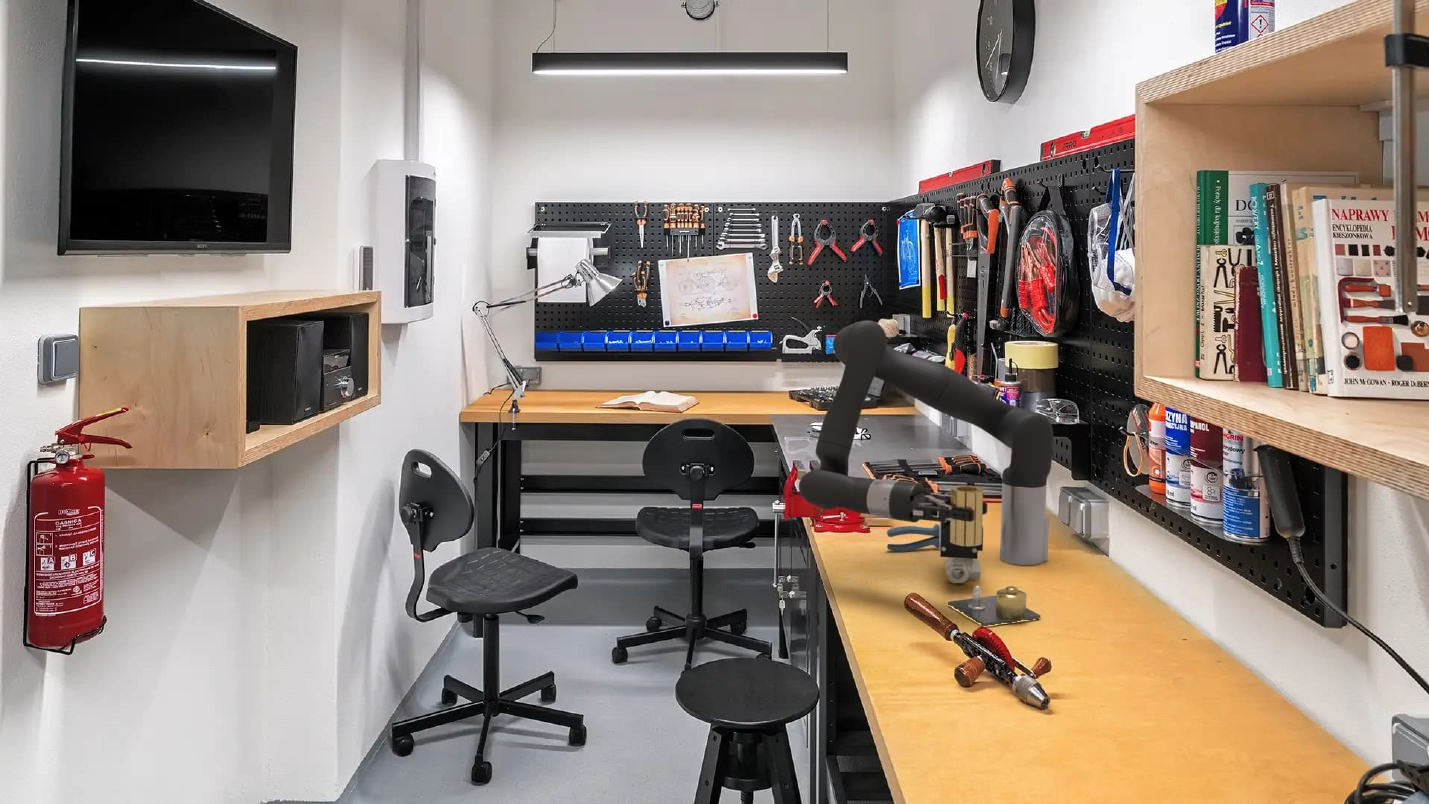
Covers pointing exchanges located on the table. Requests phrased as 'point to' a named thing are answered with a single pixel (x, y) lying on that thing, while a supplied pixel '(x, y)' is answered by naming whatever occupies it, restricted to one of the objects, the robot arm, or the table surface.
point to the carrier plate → (985, 609)
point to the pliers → (917, 544)
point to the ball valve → (959, 557)
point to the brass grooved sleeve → (965, 530)
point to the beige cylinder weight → (1011, 603)
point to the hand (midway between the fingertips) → (979, 512)
